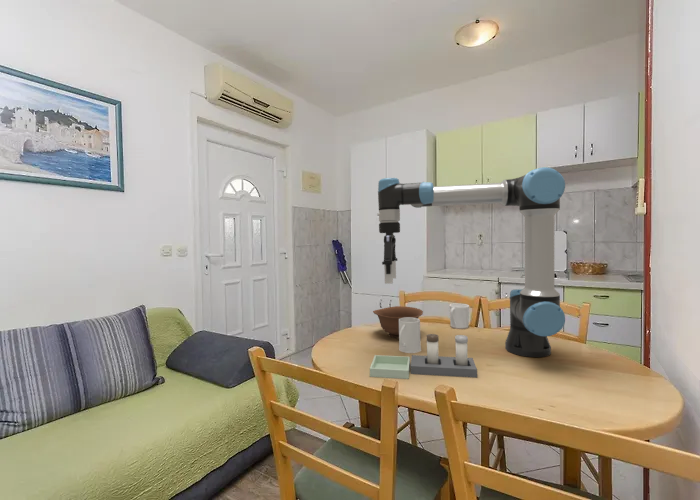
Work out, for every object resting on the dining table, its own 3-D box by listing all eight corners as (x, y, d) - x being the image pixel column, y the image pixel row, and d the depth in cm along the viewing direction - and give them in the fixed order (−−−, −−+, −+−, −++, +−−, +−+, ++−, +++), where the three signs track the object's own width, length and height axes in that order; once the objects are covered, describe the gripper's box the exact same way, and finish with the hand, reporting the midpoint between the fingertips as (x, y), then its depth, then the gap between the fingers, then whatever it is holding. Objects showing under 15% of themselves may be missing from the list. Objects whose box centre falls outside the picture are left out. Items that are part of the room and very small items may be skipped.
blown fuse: (438, 366, 114) (438, 334, 113) (439, 371, 110) (438, 337, 110) (427, 366, 115) (426, 333, 114) (427, 370, 111) (426, 337, 110)
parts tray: (410, 365, 117) (409, 356, 117) (408, 380, 105) (408, 370, 105) (375, 363, 119) (374, 355, 119) (369, 378, 108) (369, 368, 108)
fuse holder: (472, 366, 115) (472, 332, 114) (477, 379, 105) (476, 342, 104) (411, 363, 119) (411, 330, 118) (410, 375, 109) (410, 339, 108)
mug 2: (456, 323, 169) (456, 302, 169) (473, 326, 162) (472, 305, 162) (443, 327, 162) (442, 306, 162) (460, 331, 155) (459, 308, 155)
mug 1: (408, 358, 124) (407, 325, 123) (389, 353, 129) (388, 322, 129) (425, 349, 132) (424, 319, 132) (406, 345, 138) (406, 316, 138)
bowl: (366, 331, 160) (365, 308, 159) (409, 326, 166) (408, 304, 166) (385, 345, 139) (384, 318, 138) (433, 339, 145) (432, 313, 145)
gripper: (383, 223, 137) (384, 276, 137) (374, 221, 112) (375, 285, 113) (402, 222, 135) (403, 276, 136) (397, 220, 111) (398, 285, 112)
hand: (390, 280), depth 125 cm, fingers open, 13 cm apart
